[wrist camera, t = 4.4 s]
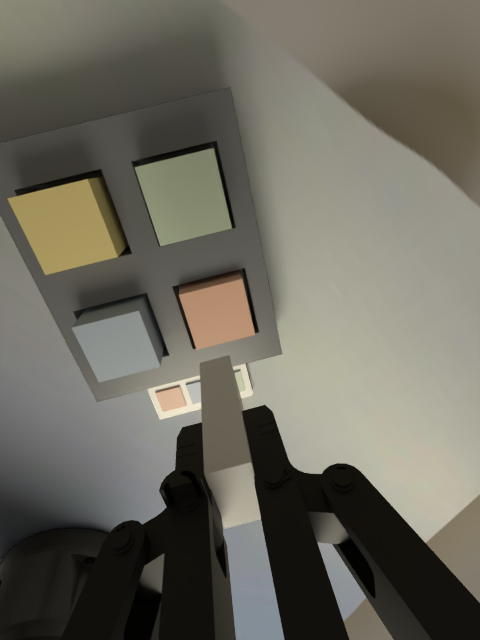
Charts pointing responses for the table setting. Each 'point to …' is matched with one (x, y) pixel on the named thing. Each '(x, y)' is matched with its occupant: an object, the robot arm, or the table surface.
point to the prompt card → (190, 394)
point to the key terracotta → (216, 309)
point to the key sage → (184, 196)
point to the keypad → (146, 230)
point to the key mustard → (70, 224)
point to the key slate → (120, 337)
